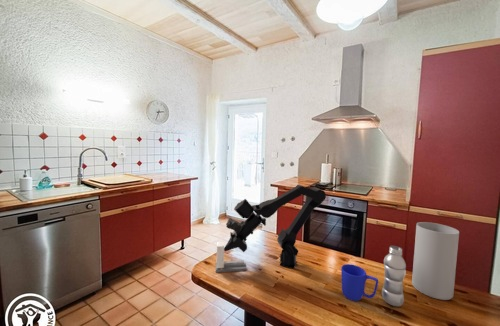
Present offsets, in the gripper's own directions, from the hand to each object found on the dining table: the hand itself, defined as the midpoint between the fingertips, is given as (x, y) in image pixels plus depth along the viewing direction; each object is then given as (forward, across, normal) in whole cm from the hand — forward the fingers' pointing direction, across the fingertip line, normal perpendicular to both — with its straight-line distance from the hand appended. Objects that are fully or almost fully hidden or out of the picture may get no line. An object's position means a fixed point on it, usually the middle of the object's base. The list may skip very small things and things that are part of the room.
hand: (224, 250), depth 98 cm
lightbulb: (-40, +23, +52) cm, 69 cm away
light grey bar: (+4, 0, +8) cm, 9 cm away
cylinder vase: (-50, +25, +62) cm, 84 cm away
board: (+4, 0, +8) cm, 9 cm away
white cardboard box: (+6, 0, +3) cm, 7 cm away
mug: (-28, +26, +39) cm, 54 cm away
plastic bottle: (-35, +29, +47) cm, 66 cm away
